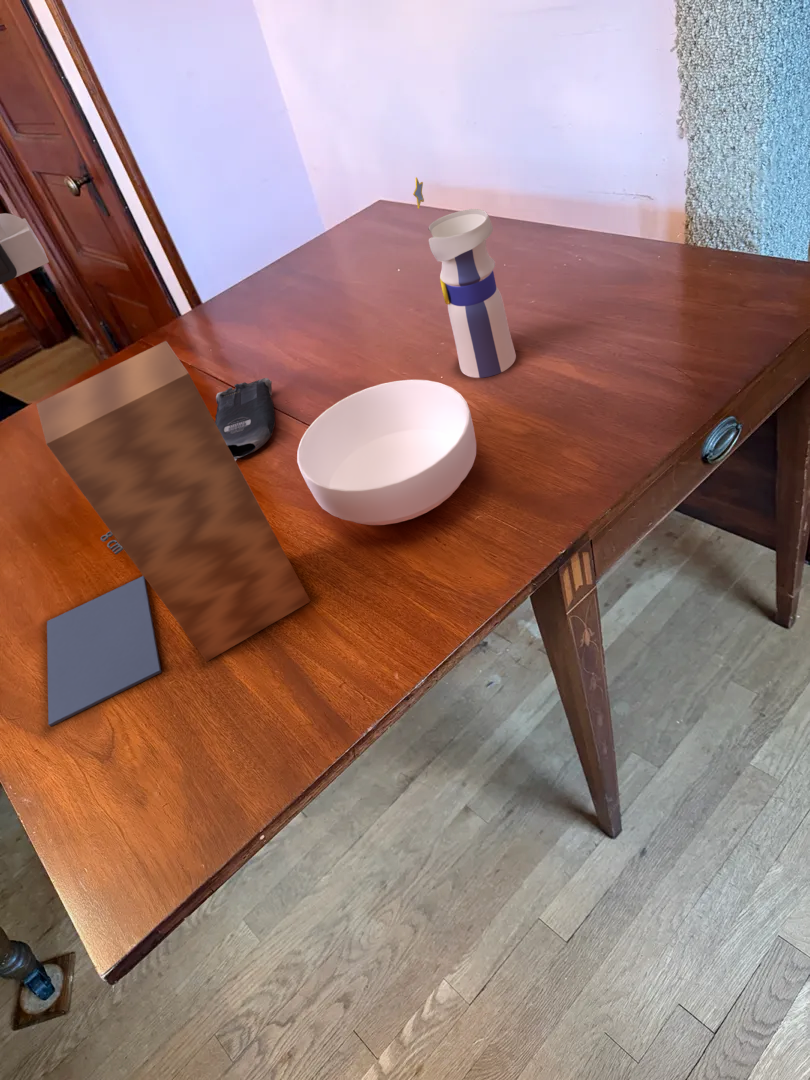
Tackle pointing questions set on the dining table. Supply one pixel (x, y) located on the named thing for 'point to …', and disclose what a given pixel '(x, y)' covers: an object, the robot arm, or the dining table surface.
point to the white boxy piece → (21, 244)
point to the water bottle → (471, 291)
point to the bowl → (389, 451)
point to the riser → (173, 497)
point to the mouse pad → (100, 650)
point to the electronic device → (246, 416)
